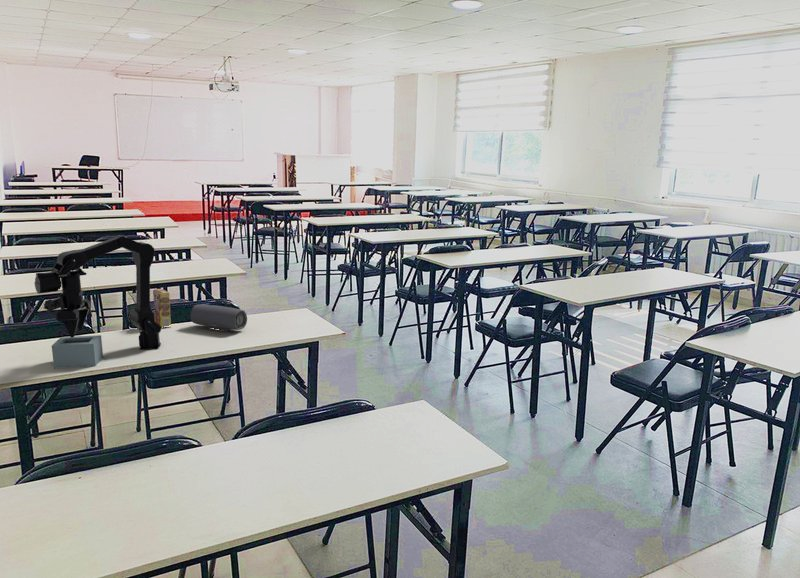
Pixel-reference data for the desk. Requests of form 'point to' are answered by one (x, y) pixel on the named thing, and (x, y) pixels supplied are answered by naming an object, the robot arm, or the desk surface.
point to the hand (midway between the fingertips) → (76, 333)
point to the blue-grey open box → (77, 351)
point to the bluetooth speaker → (218, 317)
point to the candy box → (162, 307)
